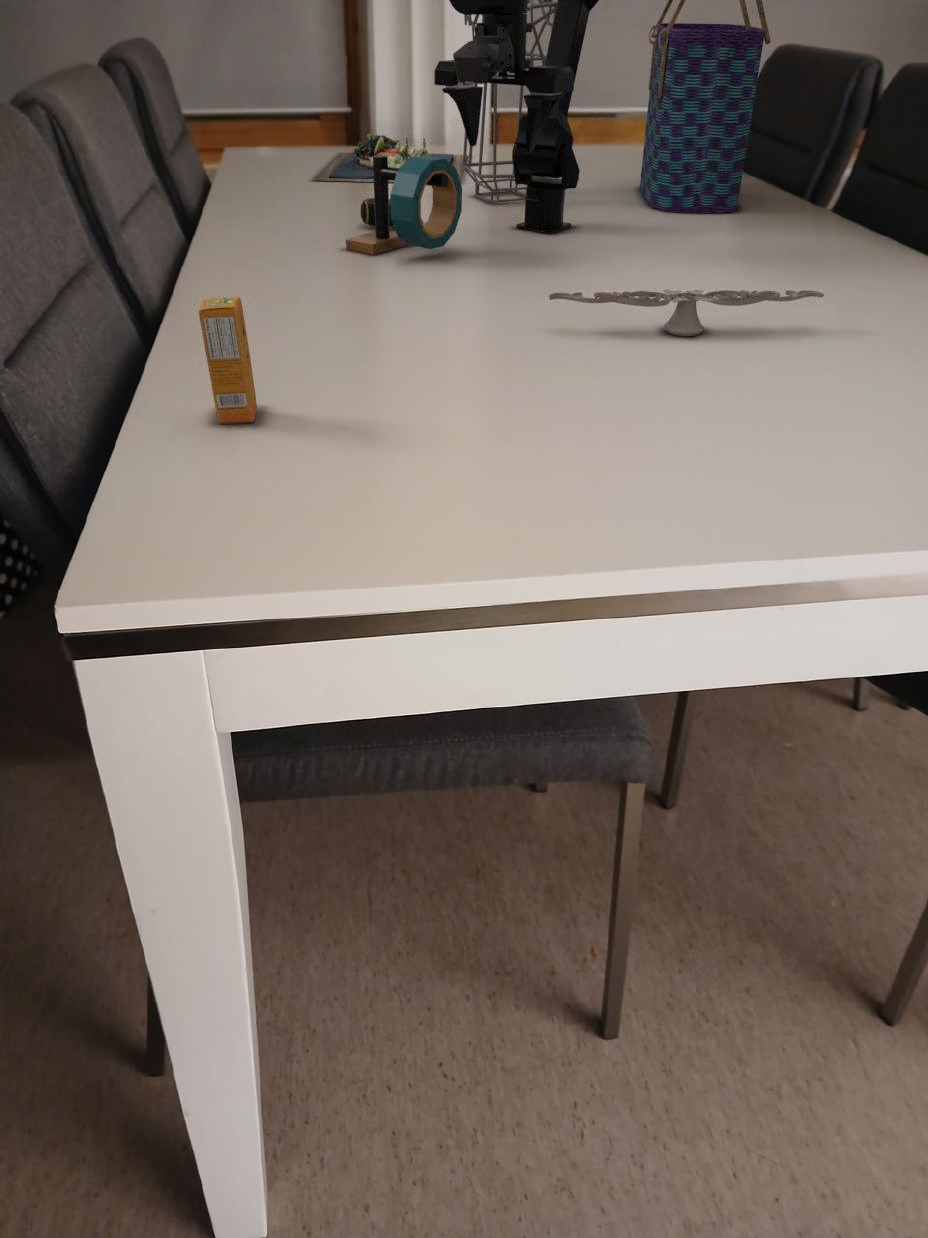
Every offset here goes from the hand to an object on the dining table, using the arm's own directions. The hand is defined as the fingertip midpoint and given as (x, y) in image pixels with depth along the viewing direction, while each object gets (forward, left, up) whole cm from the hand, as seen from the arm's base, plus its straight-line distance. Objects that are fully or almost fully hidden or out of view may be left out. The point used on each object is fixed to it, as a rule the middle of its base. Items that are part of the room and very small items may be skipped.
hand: (500, 148), depth 131 cm
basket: (-53, +5, -13) cm, 55 cm away
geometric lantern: (-32, -20, -13) cm, 40 cm away
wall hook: (+20, +38, -13) cm, 45 cm away
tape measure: (-2, -22, -13) cm, 26 cm away
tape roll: (+10, -5, -12) cm, 16 cm away
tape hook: (+10, -8, -13) cm, 18 cm away
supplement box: (+67, +17, -13) cm, 70 cm away
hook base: (+10, -14, -13) cm, 22 cm away
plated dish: (-46, -55, -13) cm, 73 cm away
